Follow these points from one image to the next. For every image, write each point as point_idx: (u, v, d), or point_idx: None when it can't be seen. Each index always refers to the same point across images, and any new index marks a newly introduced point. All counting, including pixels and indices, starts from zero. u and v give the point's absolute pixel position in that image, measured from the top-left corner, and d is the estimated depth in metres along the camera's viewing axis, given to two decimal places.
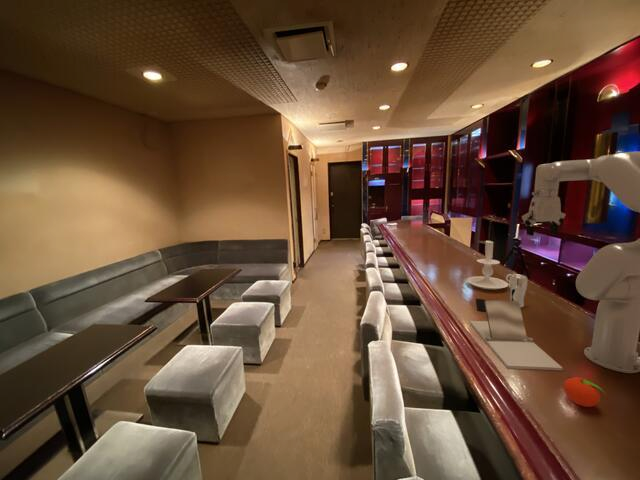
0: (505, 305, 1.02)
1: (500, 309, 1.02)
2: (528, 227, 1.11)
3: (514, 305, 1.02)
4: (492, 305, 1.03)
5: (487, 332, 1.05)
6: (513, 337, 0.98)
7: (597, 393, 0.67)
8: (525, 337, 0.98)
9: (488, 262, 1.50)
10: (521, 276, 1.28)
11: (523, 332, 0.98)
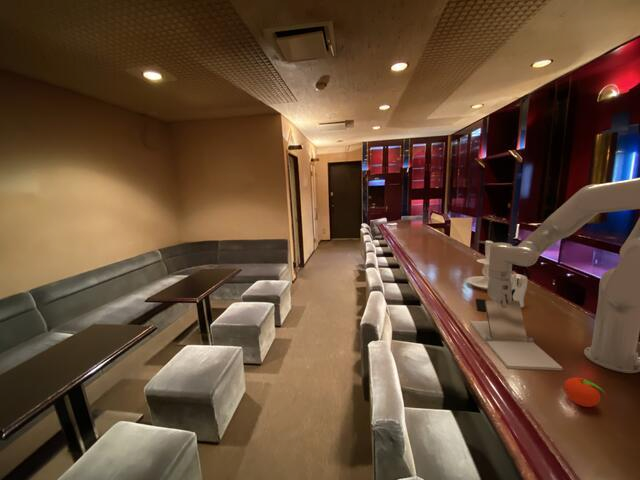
0: (506, 305, 1.02)
1: (500, 309, 1.02)
2: None
3: (515, 305, 1.01)
4: (492, 305, 1.02)
5: (487, 332, 1.05)
6: (513, 337, 0.98)
7: (597, 393, 0.67)
8: (525, 337, 0.98)
9: (488, 262, 1.50)
10: (521, 276, 1.28)
11: (523, 332, 0.98)
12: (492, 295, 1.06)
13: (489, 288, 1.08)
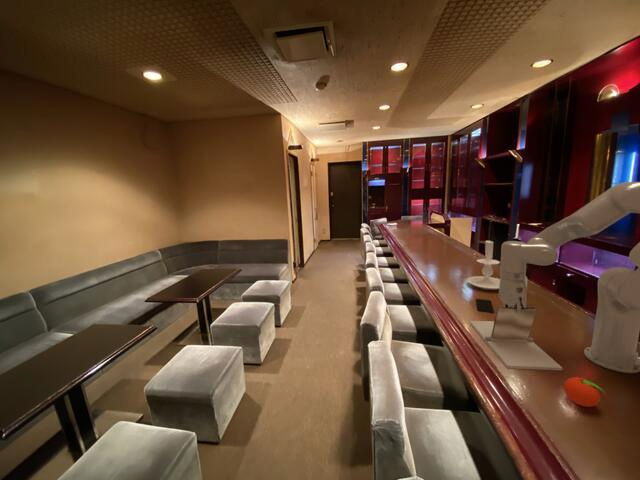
0: (519, 313, 0.93)
1: (512, 317, 0.94)
2: None
3: (529, 313, 0.93)
4: (504, 313, 0.94)
5: (487, 332, 1.05)
6: (514, 339, 0.98)
7: (597, 393, 0.67)
8: (526, 339, 0.97)
9: (488, 262, 1.50)
10: None
11: (526, 335, 0.96)
12: (504, 298, 0.97)
13: (500, 291, 0.99)
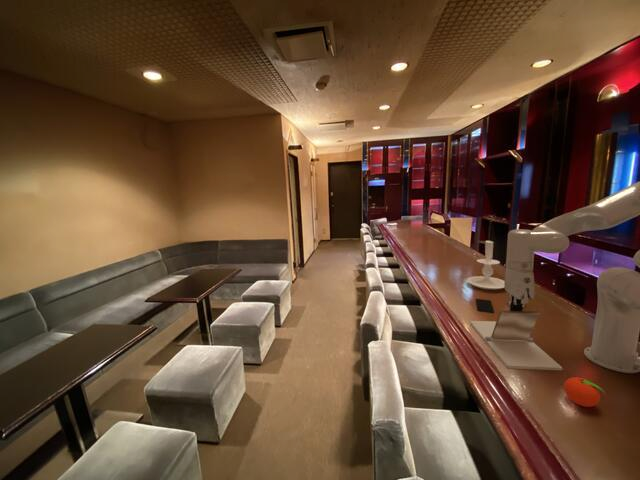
0: (522, 317, 0.92)
1: (514, 320, 0.93)
2: (518, 306, 0.92)
3: (532, 317, 0.91)
4: (507, 317, 0.93)
5: (487, 332, 1.05)
6: (514, 339, 0.98)
7: (597, 393, 0.67)
8: (526, 339, 0.97)
9: (488, 262, 1.50)
10: None
11: (527, 336, 0.96)
12: (511, 290, 0.93)
13: (506, 282, 0.95)
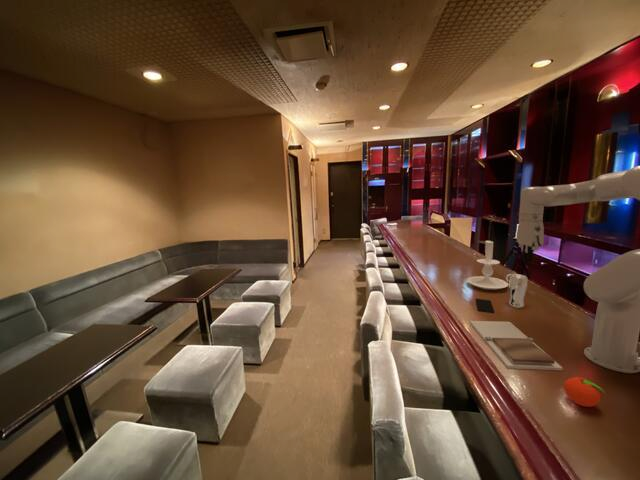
0: None
1: None
2: (529, 254, 1.07)
3: None
4: None
5: (487, 332, 1.05)
6: None
7: (597, 393, 0.67)
8: None
9: (488, 262, 1.50)
10: (521, 276, 1.28)
11: None
12: (523, 240, 1.07)
13: (519, 234, 1.10)
